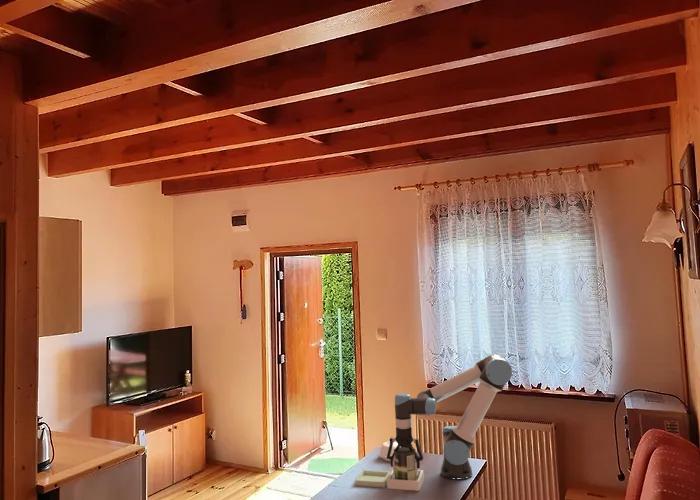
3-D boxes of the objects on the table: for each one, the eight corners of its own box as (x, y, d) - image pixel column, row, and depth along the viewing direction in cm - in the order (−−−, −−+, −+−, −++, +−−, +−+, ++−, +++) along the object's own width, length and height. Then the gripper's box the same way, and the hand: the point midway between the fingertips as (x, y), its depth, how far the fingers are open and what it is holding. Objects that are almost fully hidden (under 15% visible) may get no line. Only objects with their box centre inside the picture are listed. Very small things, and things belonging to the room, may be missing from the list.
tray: (390, 476, 261) (390, 471, 261) (384, 487, 247) (384, 482, 247) (362, 475, 264) (362, 469, 264) (355, 485, 251) (355, 480, 251)
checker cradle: (423, 478, 257) (423, 470, 257) (419, 490, 242) (419, 481, 242) (393, 476, 261) (393, 468, 261) (387, 488, 246) (387, 479, 246)
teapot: (407, 464, 278) (406, 444, 279) (384, 466, 276) (384, 446, 276) (398, 452, 298) (397, 433, 298) (376, 454, 296) (375, 435, 296)
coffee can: (397, 485, 246) (395, 454, 246) (393, 476, 256) (392, 447, 257) (418, 483, 247) (417, 452, 247) (414, 475, 257) (412, 445, 258)
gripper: (428, 425, 254) (430, 472, 252) (382, 423, 260) (384, 469, 258) (426, 430, 246) (428, 478, 245) (378, 428, 252) (380, 475, 251)
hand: (405, 474), depth 252 cm, fingers closed on coffee can, 10 cm apart
